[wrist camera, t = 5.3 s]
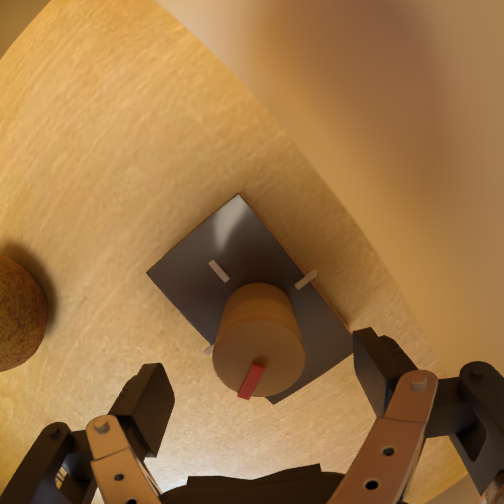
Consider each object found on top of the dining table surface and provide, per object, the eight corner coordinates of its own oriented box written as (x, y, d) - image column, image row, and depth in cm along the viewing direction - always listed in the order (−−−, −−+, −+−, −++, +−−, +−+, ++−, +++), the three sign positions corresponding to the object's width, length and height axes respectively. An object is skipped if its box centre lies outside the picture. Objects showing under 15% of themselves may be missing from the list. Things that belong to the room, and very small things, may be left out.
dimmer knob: (237, 272, 17) (229, 309, 12) (304, 296, 17) (323, 340, 12) (214, 332, 18) (199, 385, 12) (277, 353, 18) (283, 410, 13)
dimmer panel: (355, 322, 21) (369, 343, 18) (265, 384, 22) (266, 410, 19) (248, 185, 19) (247, 185, 16) (154, 266, 20) (137, 279, 17)
